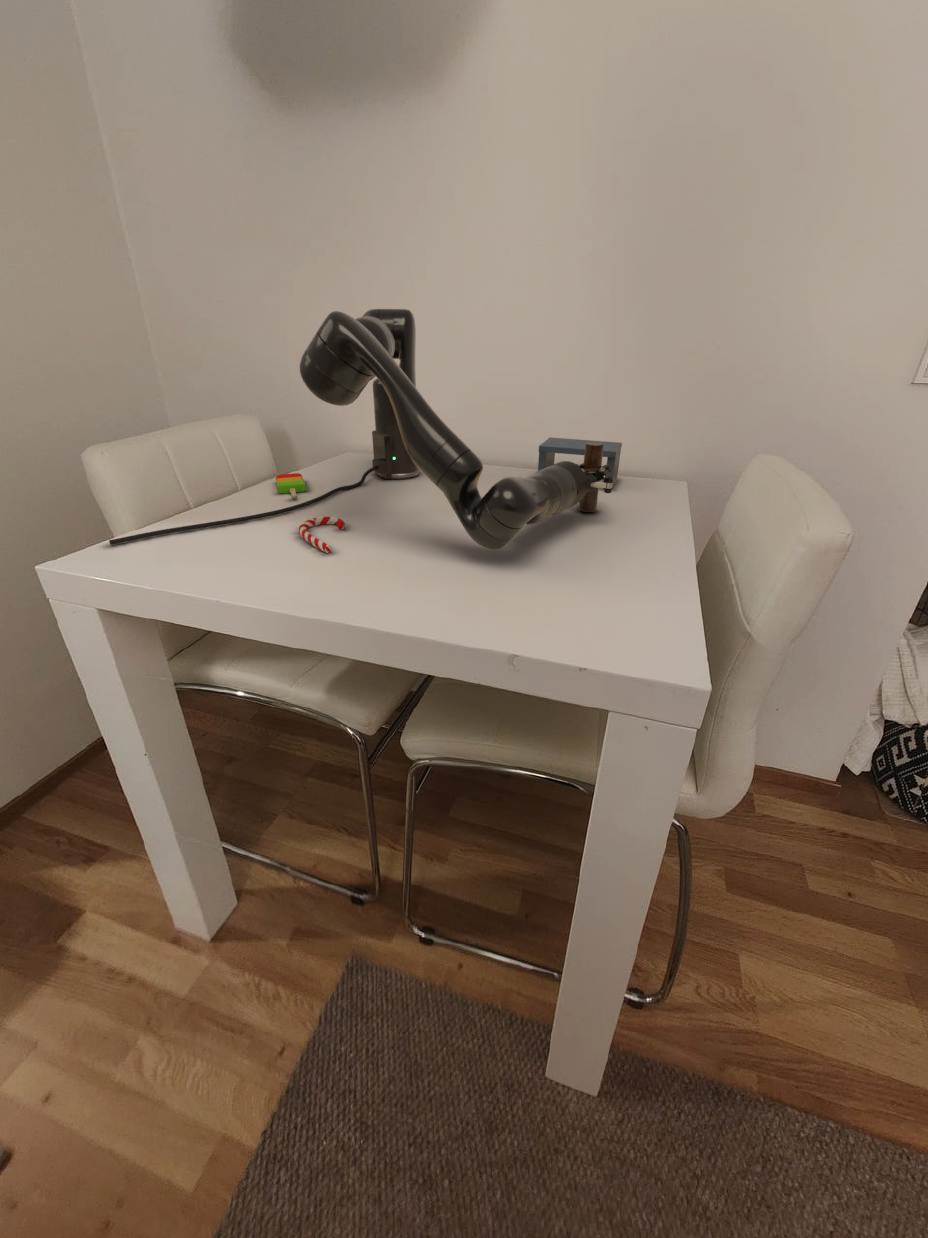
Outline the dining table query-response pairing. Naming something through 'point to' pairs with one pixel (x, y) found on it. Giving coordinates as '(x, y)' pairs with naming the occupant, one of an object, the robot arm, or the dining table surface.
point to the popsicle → (290, 483)
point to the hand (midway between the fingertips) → (598, 468)
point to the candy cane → (314, 522)
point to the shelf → (577, 452)
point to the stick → (590, 460)
